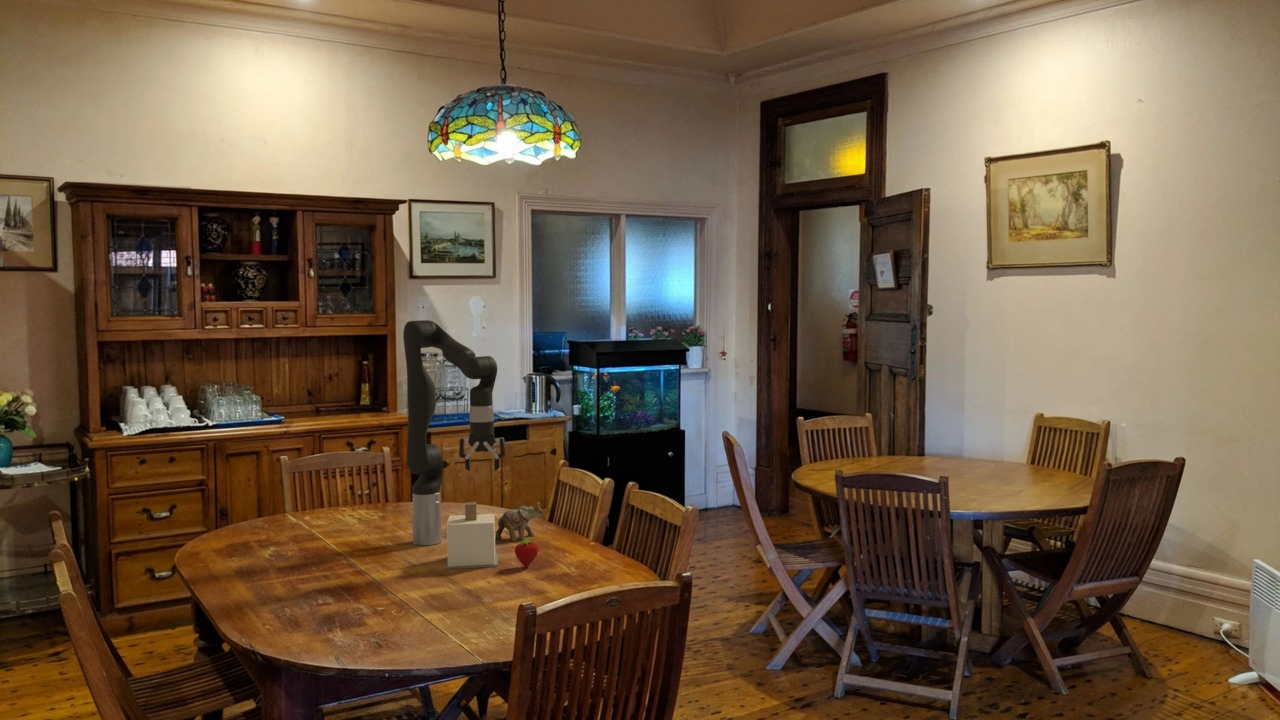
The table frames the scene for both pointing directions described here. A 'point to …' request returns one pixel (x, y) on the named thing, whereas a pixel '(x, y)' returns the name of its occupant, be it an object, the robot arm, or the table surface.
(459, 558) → the cover
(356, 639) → the table surface
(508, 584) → the table surface
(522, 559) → the strawberry
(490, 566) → the mat
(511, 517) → the figurine
